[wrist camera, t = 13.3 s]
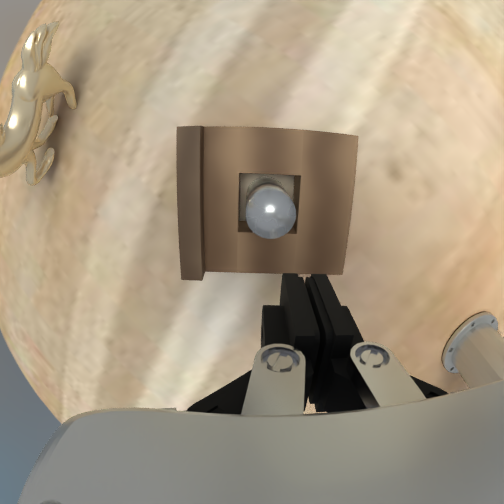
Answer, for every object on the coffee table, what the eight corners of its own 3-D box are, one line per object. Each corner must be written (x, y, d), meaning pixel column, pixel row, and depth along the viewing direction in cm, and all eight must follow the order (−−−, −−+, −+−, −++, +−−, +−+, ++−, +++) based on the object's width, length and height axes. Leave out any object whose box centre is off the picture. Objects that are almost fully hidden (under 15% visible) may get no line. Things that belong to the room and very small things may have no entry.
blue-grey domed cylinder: (286, 177, 30) (297, 191, 23) (284, 214, 32) (294, 239, 24) (247, 176, 30) (246, 189, 23) (246, 213, 32) (245, 238, 24)
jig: (345, 135, 29) (366, 136, 23) (333, 259, 34) (347, 283, 28) (190, 128, 28) (176, 126, 23) (192, 255, 34) (181, 279, 28)
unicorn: (82, 36, 23) (-15, -1, 8) (107, 41, 24) (11, -5, 8) (32, 188, 30) (-65, 231, 14) (53, 198, 31) (-46, 248, 15)
